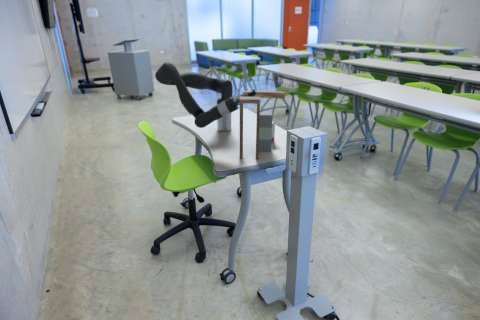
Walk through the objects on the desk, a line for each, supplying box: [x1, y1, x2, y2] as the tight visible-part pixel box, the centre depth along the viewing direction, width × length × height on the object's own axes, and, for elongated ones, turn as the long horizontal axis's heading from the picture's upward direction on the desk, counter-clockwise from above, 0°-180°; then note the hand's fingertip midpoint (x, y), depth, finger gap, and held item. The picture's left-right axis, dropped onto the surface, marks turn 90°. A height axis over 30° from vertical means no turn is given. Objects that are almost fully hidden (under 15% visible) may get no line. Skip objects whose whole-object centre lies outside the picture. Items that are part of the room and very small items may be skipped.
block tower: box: [259, 111, 273, 152], centre depth 173 cm, size 6×8×21 cm
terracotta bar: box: [242, 90, 286, 99], centre depth 164 cm, size 3×22×3 cm, turn 87°
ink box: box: [271, 120, 276, 143], centre depth 188 cm, size 9×5×12 cm, turn 100°
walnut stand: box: [239, 97, 261, 160], centre depth 161 cm, size 6×10×32 cm, turn 87°
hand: (255, 91), depth 164 cm, fingers closed on terracotta bar, 3 cm apart
